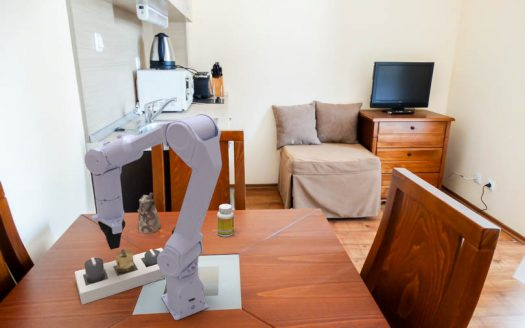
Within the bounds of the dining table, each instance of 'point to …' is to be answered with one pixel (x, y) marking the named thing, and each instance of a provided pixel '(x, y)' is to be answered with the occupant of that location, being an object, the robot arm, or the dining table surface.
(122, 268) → the brass knob middle
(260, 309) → the dining table surface
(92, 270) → the black knob
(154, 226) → the figurine
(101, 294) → the control deck
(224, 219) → the supplement bottle
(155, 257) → the black knob
